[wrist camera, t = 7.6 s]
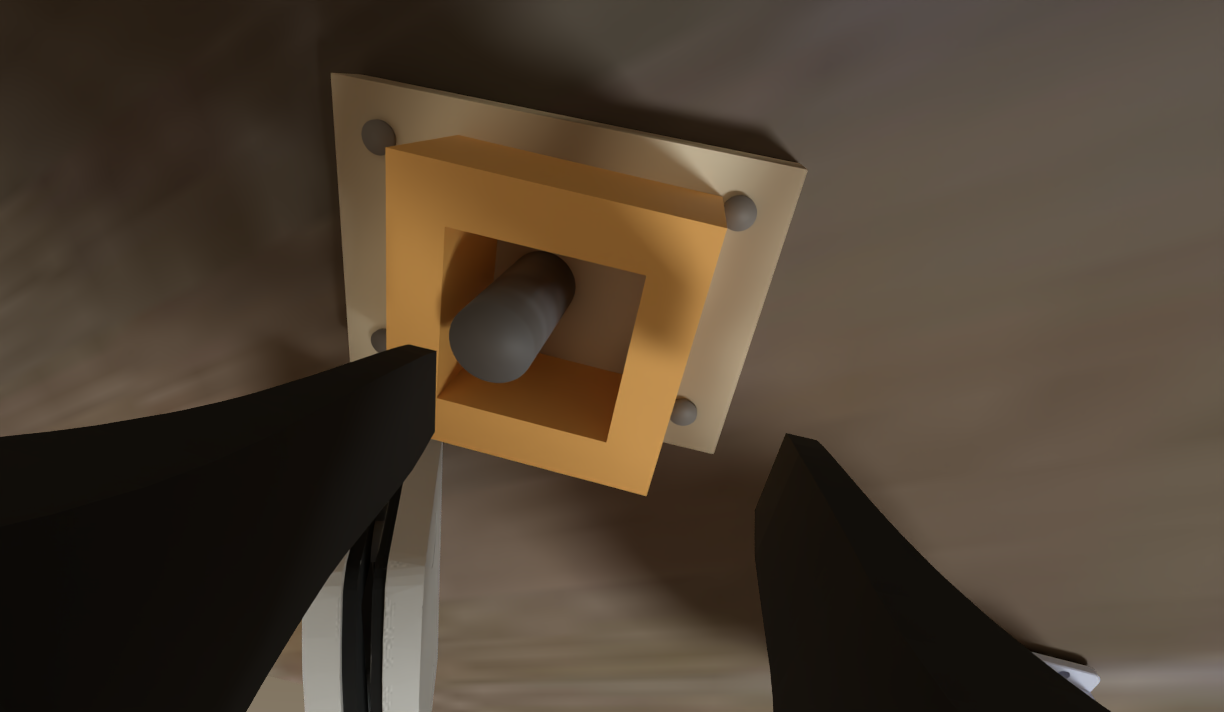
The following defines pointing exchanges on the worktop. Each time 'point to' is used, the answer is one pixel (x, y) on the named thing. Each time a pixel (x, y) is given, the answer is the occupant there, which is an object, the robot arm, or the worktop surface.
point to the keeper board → (552, 283)
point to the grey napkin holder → (381, 608)
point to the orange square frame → (567, 225)
